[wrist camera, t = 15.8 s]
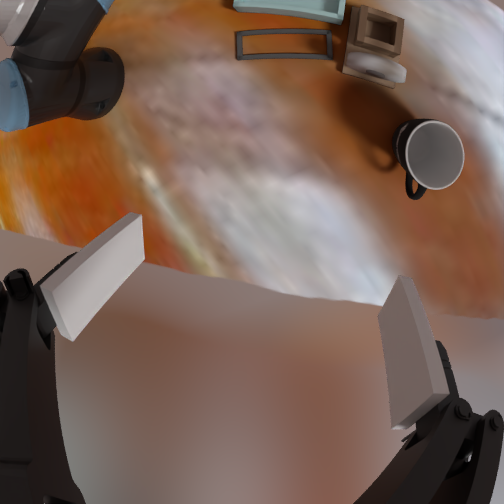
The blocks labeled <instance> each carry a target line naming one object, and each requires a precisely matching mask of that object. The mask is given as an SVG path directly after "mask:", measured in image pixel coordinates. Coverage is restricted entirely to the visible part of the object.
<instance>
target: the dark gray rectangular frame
mask: <svg viewBox="0 0 504 504" xmlns="http://www.w3.org/2000/svg"><path fill="white" fill-rule="evenodd" d="M262 34H320V35H327V54H328V55H319V54H257V55H243V48H242V36H248V35H262ZM237 58H238V60H251V59H275V58H299V59H323V60H333V55H332V35H331V30H315V29H269V30H252V31H241V32H237Z"/></svg>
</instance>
